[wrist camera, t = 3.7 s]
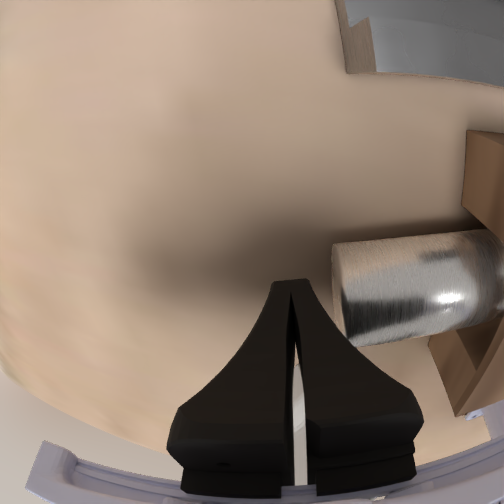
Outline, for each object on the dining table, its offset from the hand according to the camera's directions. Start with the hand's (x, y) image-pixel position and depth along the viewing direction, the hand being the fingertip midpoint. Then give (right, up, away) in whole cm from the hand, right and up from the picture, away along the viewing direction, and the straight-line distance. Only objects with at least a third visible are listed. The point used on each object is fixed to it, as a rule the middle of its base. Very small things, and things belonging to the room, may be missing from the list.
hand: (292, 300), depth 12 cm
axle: (+7, +1, +1) cm, 7 cm away
